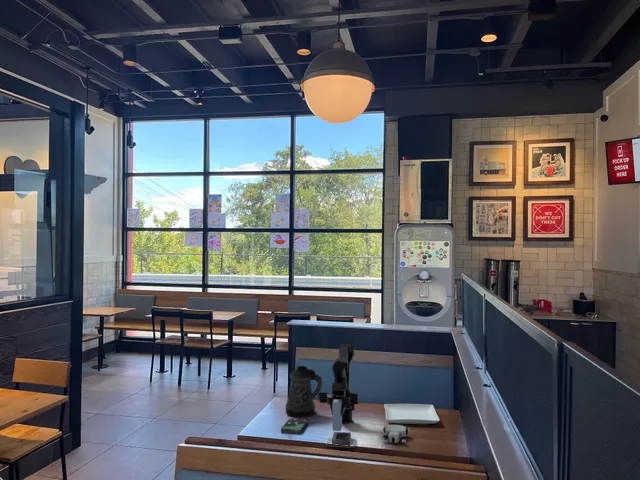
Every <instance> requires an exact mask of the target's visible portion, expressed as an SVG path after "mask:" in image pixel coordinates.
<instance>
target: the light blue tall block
mask: <svg viewBox="0 0 640 480" xmlns="http://www.w3.org/2000/svg"><path fill="white" fill-rule="evenodd" d="M341 409H342V400H341V399H334V400H333V403H332V410H333V415H332V432H341V431H342V428H343V423H342V416H341Z"/></svg>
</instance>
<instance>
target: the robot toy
mask: <svg viewBox="0 0 640 480" xmlns="http://www.w3.org/2000/svg"><path fill="white" fill-rule="evenodd" d="M382 432H383V433H384V434H383V435H382V436H381V438H380V440H382V441H387V440H388V442H389V443H394V444H397V443H399V442H401V443H406V442H407V441H406V438H405V437H406V436H407V435H408V434H410V429H409V428H408V427H406V426H404V425H402V424H387V425H385V424H384V425H383V429H382Z"/></svg>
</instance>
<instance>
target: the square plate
mask: <svg viewBox="0 0 640 480" xmlns="http://www.w3.org/2000/svg"><path fill="white" fill-rule="evenodd" d="M383 407H384V411H385V420H386V422H388V423H390V424H397V425H403V424H404V425H405V424H406V425H408V424H409V425H410V424H411V425H431V424H432V425H433V424H437V423H438V422H439V421H440V417H439V416H438V414H437V412H436V409H435V406H434V405H433V404H423V403H422V404H421V403H385V404H384V405H383Z"/></svg>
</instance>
